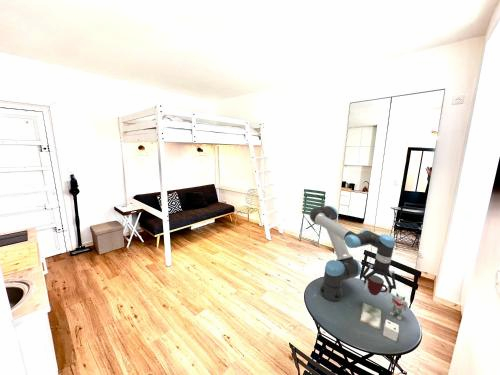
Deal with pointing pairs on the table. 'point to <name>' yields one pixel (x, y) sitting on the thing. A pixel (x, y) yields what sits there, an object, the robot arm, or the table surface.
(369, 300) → the table surface
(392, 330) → the die
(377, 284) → the mug
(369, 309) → the board
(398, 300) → the figurine
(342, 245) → the robot arm
